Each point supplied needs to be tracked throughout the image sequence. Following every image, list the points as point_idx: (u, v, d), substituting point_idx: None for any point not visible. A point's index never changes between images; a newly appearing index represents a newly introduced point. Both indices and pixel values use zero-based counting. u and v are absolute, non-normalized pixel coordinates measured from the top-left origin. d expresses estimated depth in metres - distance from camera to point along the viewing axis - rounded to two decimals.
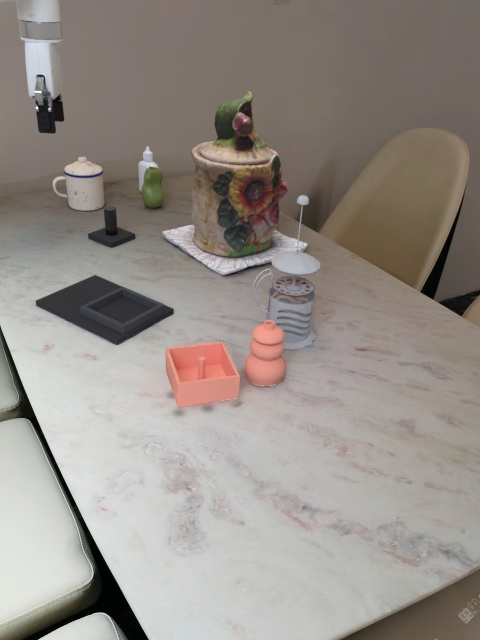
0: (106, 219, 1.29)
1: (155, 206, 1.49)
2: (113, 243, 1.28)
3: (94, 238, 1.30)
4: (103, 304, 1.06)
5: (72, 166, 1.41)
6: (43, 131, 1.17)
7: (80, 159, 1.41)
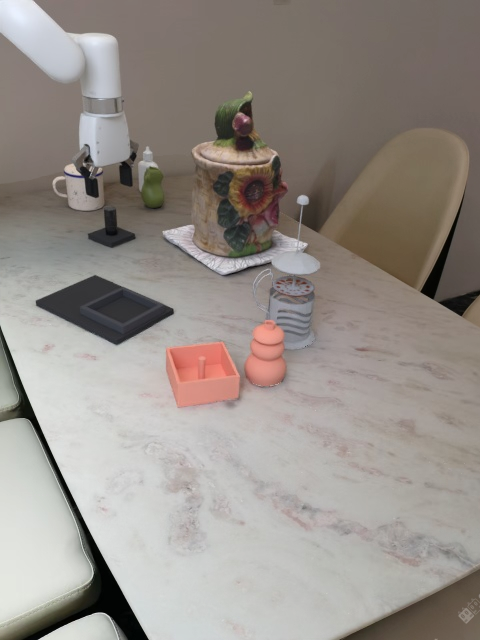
0: (106, 219, 1.29)
1: (155, 206, 1.49)
2: (113, 243, 1.28)
3: (94, 238, 1.30)
4: (103, 304, 1.06)
5: (72, 166, 1.41)
6: (89, 194, 1.23)
7: None
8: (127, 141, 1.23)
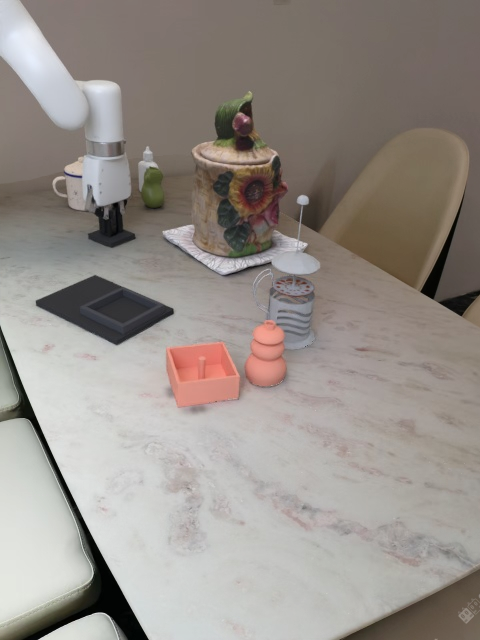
0: None
1: (155, 206, 1.49)
2: (113, 243, 1.28)
3: (94, 238, 1.30)
4: (103, 304, 1.06)
5: (72, 166, 1.41)
6: (102, 232, 1.31)
7: (80, 159, 1.41)
8: (128, 180, 1.27)
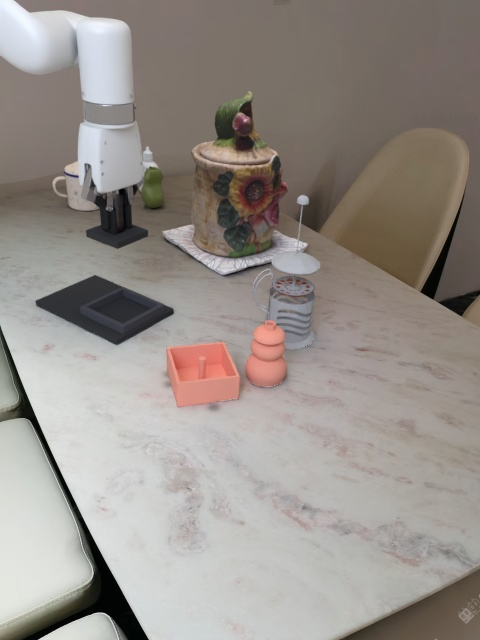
0: None
1: (155, 206, 1.49)
2: (119, 243, 0.97)
3: (94, 236, 0.98)
4: (103, 304, 1.06)
5: (72, 166, 1.41)
6: (105, 229, 0.99)
7: None
8: (139, 159, 0.95)
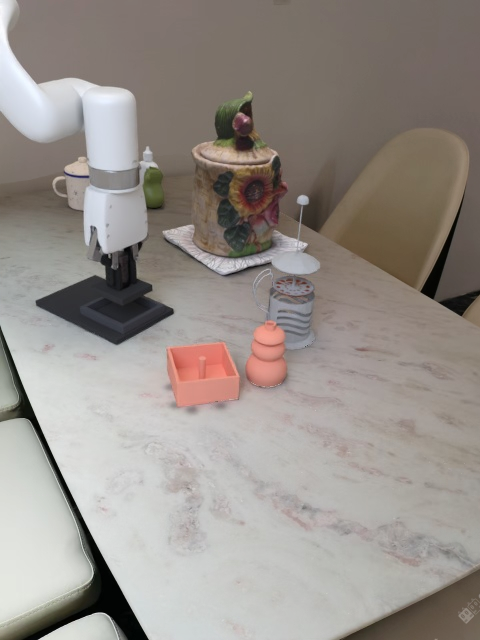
0: None
1: (155, 206, 1.49)
2: (124, 300, 0.98)
3: (99, 292, 1.00)
4: (103, 304, 1.06)
5: (72, 166, 1.41)
6: (110, 285, 1.00)
7: (80, 159, 1.41)
8: (144, 218, 0.97)
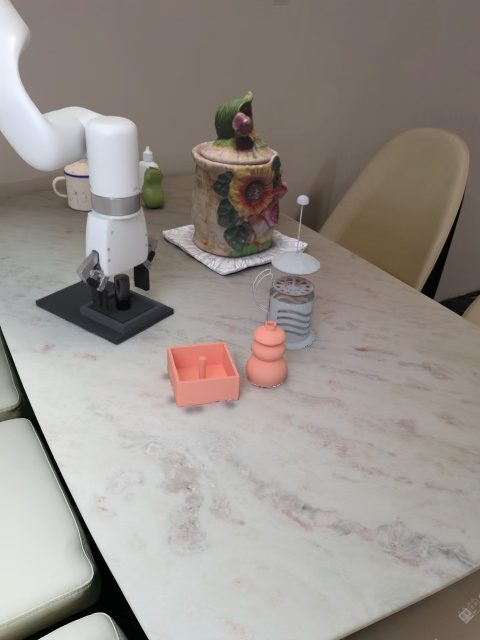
0: (117, 291, 1.01)
1: (155, 206, 1.49)
2: None
3: None
4: None
5: (72, 166, 1.41)
6: None
7: None
8: (145, 241, 0.99)
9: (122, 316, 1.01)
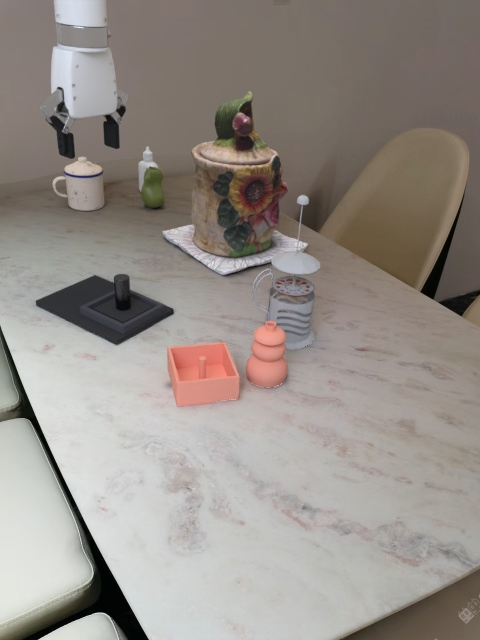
0: (117, 291, 1.01)
1: (155, 206, 1.49)
2: None
3: None
4: None
5: (72, 166, 1.41)
6: (62, 154, 0.97)
7: (80, 159, 1.41)
8: (113, 88, 0.97)
9: (122, 316, 1.01)
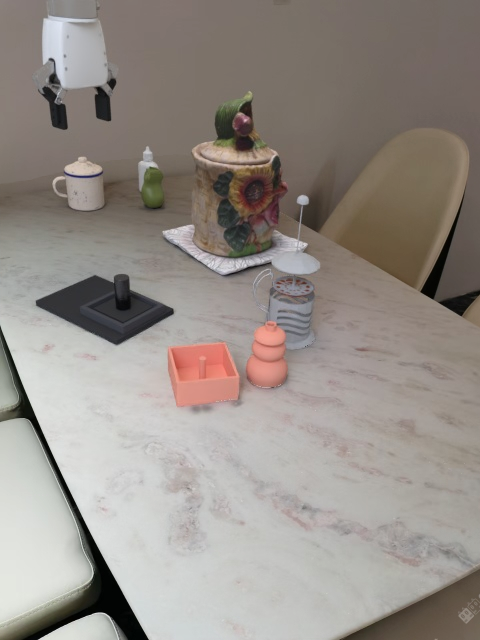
0: (117, 291, 1.01)
1: (155, 206, 1.49)
2: None
3: None
4: None
5: (72, 166, 1.41)
6: (55, 125, 0.99)
7: (80, 159, 1.41)
8: (104, 60, 0.99)
9: (122, 316, 1.01)
